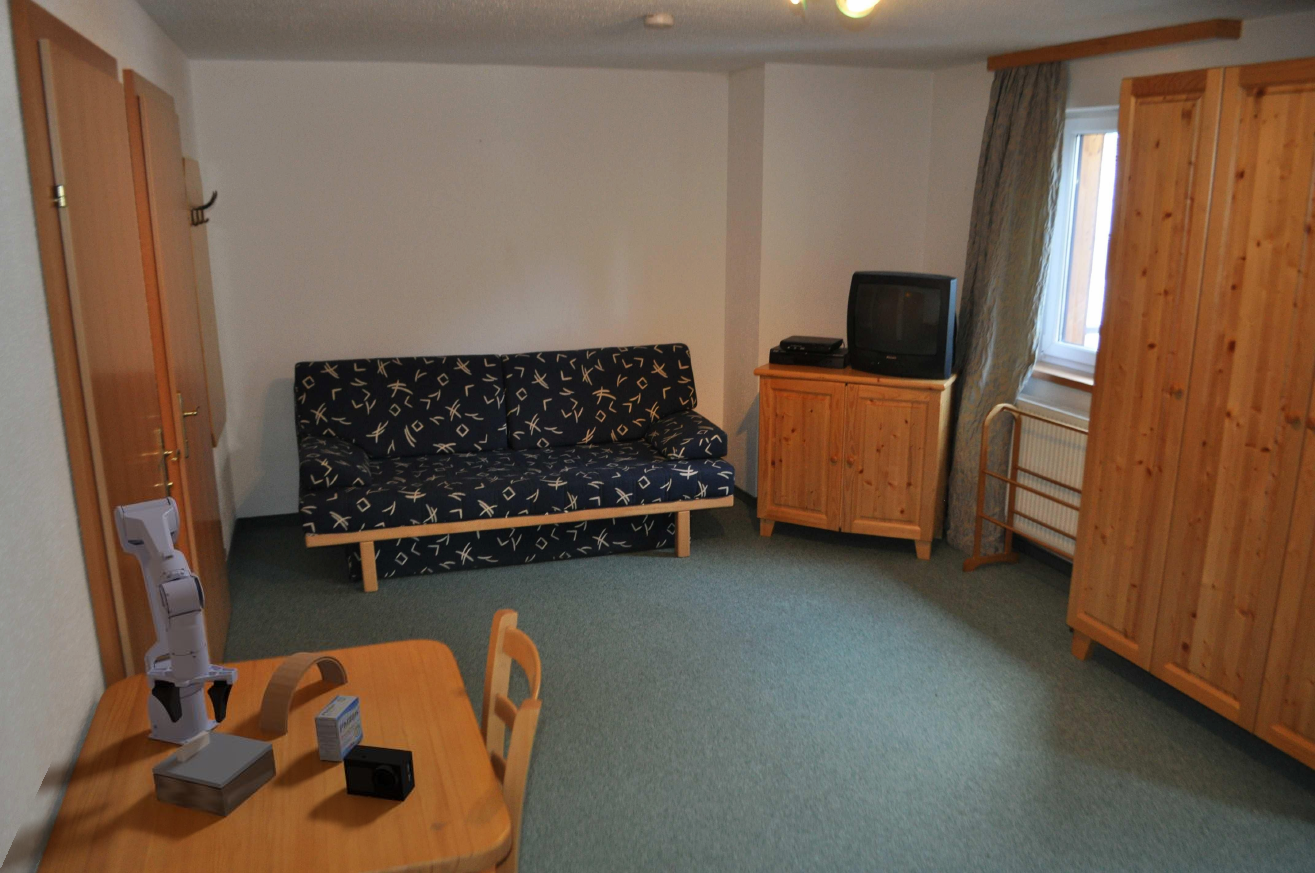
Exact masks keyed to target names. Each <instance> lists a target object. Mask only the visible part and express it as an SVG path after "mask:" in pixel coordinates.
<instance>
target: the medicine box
mask: <svg viewBox="0 0 1315 873" xmlns="http://www.w3.org/2000/svg"><path fill="white" fill-rule="evenodd" d="M361 715H362V714H361V706H360V698H359V697H358V696H352V695H345V694H344V695H343V694H338V695H336V696H335V697H334V698H333V699H332V700H331V701H330V702H329V703H328V704H327V705H326V706H325V707H324V708H323V709H322V710H321V711H320V712H319V713H318V714H317V715H316V716H314V723H315V724H314V725H315V732H316V741H317V747H318V755H319V760H321V761H329V762H330V761H331V762H341V763H343V762H344V761H343V758H344V757H345V756H346V755H347V753H348V752H349V751H350V750H351V749H352V748H353V747H354V746H355V745H359V743H360V742H361V741H362V740H363V739H364V733H363V732H364V731H363V725H362V716H361Z"/></svg>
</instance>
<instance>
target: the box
mask: <svg viewBox="0 0 1315 873" xmlns="http://www.w3.org/2000/svg"><path fill="white" fill-rule="evenodd" d="M152 776H153V781H154V788H155V789H154V790H155V793H156V800H157V802H162V803H164V804H165V803H166V804H170V805H174V806H178V807H182V808H187V809H190V810H194V811H198V812H202V813H203V812H204V813H207V814H212V815H215V816H219V817H223V818H227V817H228V816H229V815H230V814H232V813H233V812H234V811H235V810H236V809H237V808H239V807H240V806H241V805H242V804H244V802H246V801H247V800H248V799H249V798H250V797H252V796H253V795H254V794H255V793H257V792H258V791H259V790H260V789H261V788H262V787H263V786H265V785H266V784H267V783H269V782H270V781H271V780H272V779H273V778H274V777H276V776H277V769H276V762H275V754H274V748H272V749H270V750H269V751H268V752H267V753H265V754H264V755H263V756H261V757H260V758H259V759H258V760H256V761H255V762H254V763H253V764H251V765H250V766H249V767H248V768H246V769H245V770H244V771H243V772H241V773H240V774H239V775H238V776H236V777H235V778H234V779H233V780H231V781H230V782H229V783H228V784H226V785H225V786H224V787H223V788H217V787H213V786H208V785H204V784H200V783H195V782H191V781H187V780H182V779H178V778H174V777H169V776H165V775H161V774H156V773H152Z"/></svg>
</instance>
